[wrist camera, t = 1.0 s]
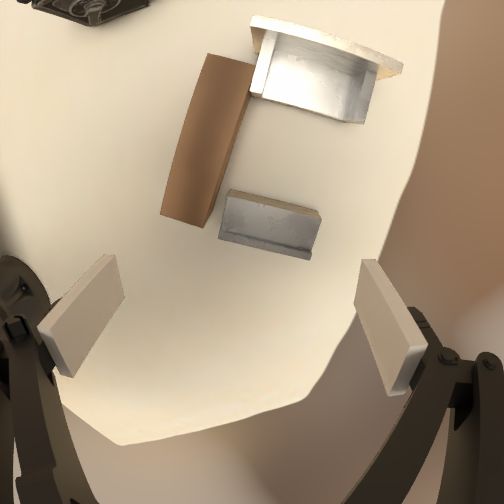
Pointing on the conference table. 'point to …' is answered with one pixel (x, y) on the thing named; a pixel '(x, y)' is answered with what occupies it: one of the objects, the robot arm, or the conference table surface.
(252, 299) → the conference table surface
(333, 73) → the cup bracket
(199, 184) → the rail
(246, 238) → the rest block
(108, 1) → the camera
